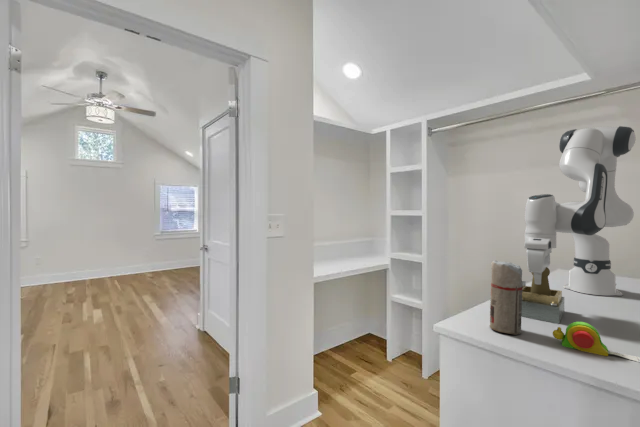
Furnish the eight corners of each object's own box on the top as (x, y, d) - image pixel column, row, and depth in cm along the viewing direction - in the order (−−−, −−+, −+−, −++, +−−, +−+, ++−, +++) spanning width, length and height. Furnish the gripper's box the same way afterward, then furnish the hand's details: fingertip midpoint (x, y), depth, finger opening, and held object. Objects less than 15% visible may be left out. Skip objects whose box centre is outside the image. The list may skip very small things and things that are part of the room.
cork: (555, 301, 100) (554, 268, 99) (534, 300, 101) (533, 268, 101) (546, 295, 106) (546, 264, 105) (526, 295, 107) (526, 264, 107)
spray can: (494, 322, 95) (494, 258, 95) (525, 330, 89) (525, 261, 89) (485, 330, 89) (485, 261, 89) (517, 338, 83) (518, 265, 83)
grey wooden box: (523, 304, 114) (523, 280, 114) (564, 311, 106) (564, 285, 106) (513, 314, 102) (514, 288, 102) (559, 323, 94) (559, 294, 94)
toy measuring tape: (552, 338, 83) (552, 314, 83) (657, 359, 71) (657, 332, 71) (552, 346, 78) (552, 321, 78) (664, 371, 66) (664, 341, 66)
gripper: (533, 239, 113) (533, 276, 113) (523, 243, 98) (522, 286, 98) (555, 240, 109) (554, 279, 109) (547, 244, 94) (546, 289, 94)
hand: (539, 282), depth 104 cm, fingers open, 5 cm apart
